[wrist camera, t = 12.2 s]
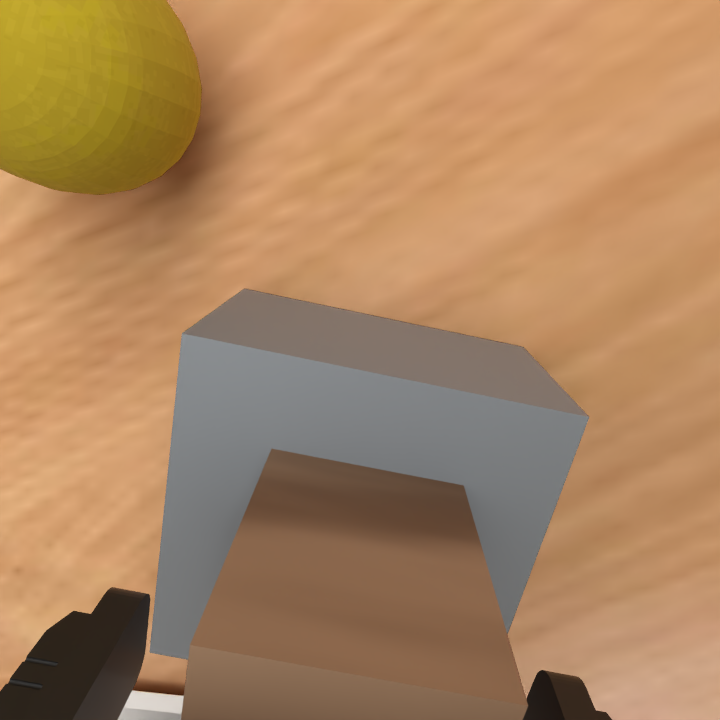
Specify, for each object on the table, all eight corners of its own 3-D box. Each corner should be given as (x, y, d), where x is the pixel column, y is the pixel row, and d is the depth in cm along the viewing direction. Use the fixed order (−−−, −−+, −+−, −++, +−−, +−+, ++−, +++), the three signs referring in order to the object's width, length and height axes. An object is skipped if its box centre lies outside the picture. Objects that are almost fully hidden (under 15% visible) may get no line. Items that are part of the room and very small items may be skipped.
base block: (244, 288, 18) (181, 333, 12) (523, 346, 18) (589, 417, 13) (211, 528, 21) (149, 652, 15) (450, 574, 21) (477, 713, 16)
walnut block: (271, 448, 13) (190, 644, 7) (463, 485, 13) (528, 705, 8) (246, 603, 15) (163, 864, 9) (419, 635, 15) (444, 911, 9)
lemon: (232, 201, 17) (116, 209, 10) (65, 184, 17) (-184, 178, 10) (236, 8, 15) (98, -172, 8) (51, -11, 15) (-268, -209, 8)
